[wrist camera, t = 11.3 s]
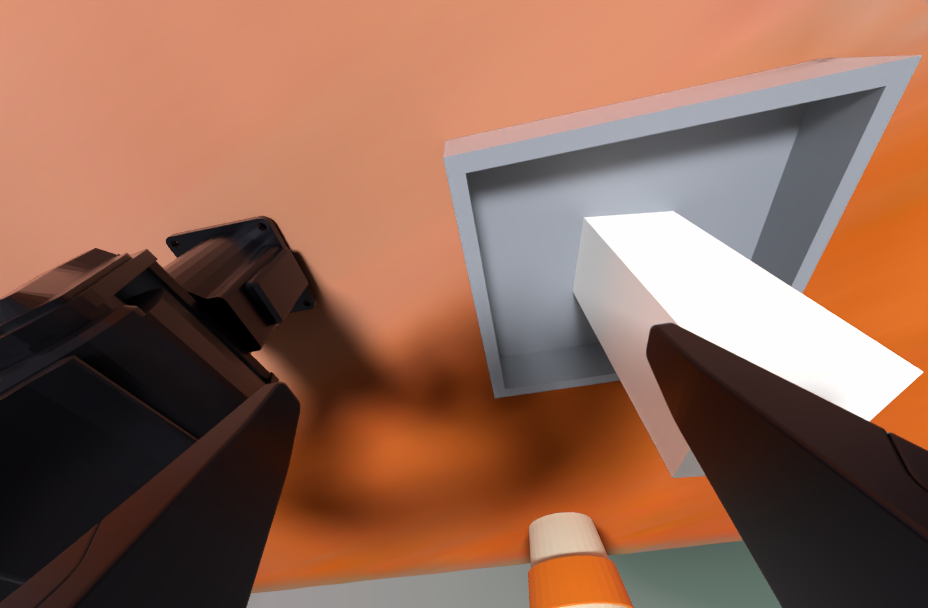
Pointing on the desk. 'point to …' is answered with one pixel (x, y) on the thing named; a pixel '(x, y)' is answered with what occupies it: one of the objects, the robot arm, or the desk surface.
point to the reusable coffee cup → (571, 565)
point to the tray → (658, 195)
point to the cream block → (717, 321)
